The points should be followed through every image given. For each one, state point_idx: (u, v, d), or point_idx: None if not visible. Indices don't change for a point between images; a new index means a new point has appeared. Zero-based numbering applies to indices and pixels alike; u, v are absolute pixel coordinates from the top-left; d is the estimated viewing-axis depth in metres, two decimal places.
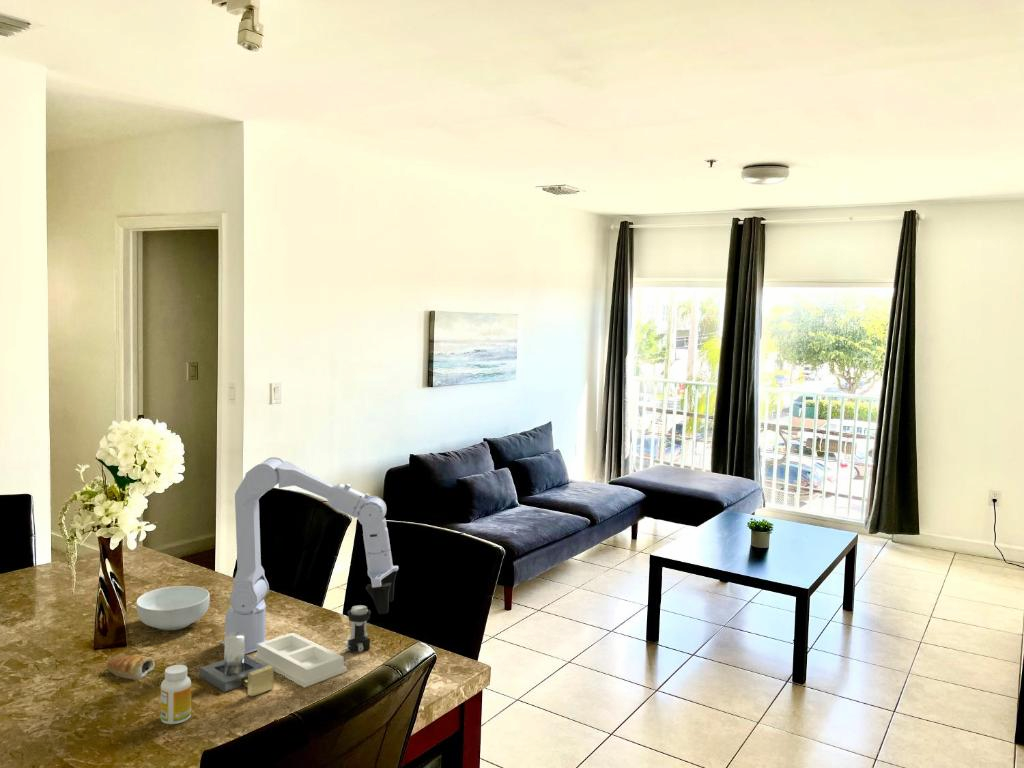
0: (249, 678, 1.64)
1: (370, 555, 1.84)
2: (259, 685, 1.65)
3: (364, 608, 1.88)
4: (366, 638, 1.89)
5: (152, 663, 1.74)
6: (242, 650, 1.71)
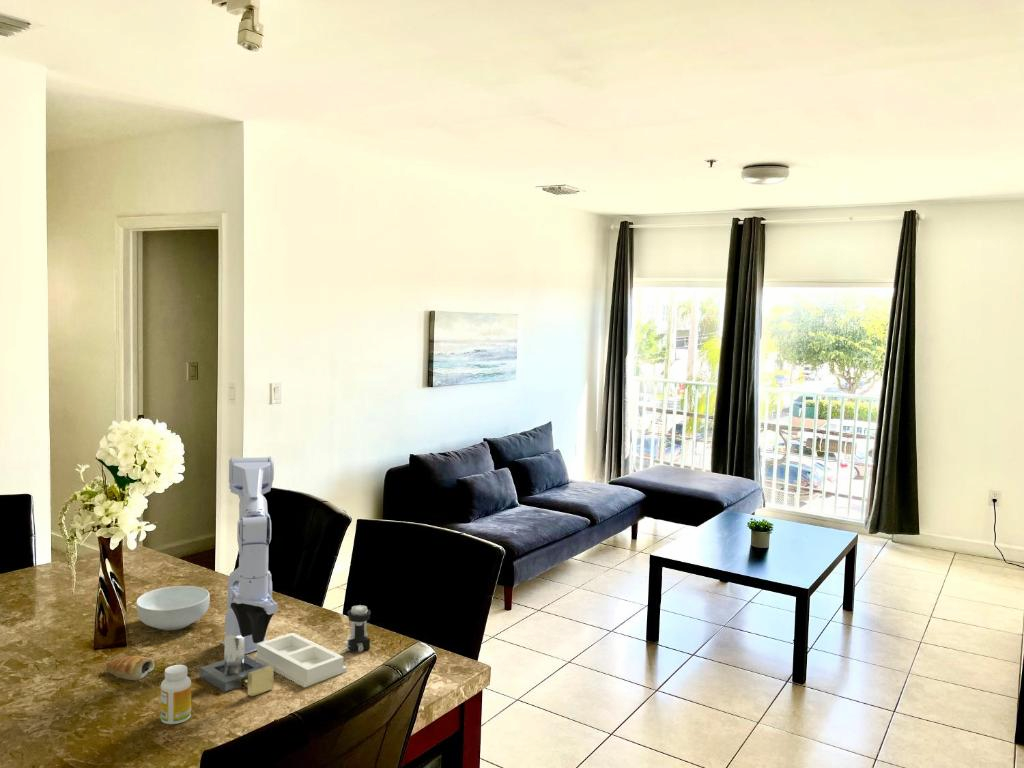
0: (249, 678, 1.64)
1: None
2: (259, 685, 1.65)
3: (364, 608, 1.88)
4: (366, 638, 1.89)
5: (152, 664, 1.73)
6: (242, 650, 1.71)
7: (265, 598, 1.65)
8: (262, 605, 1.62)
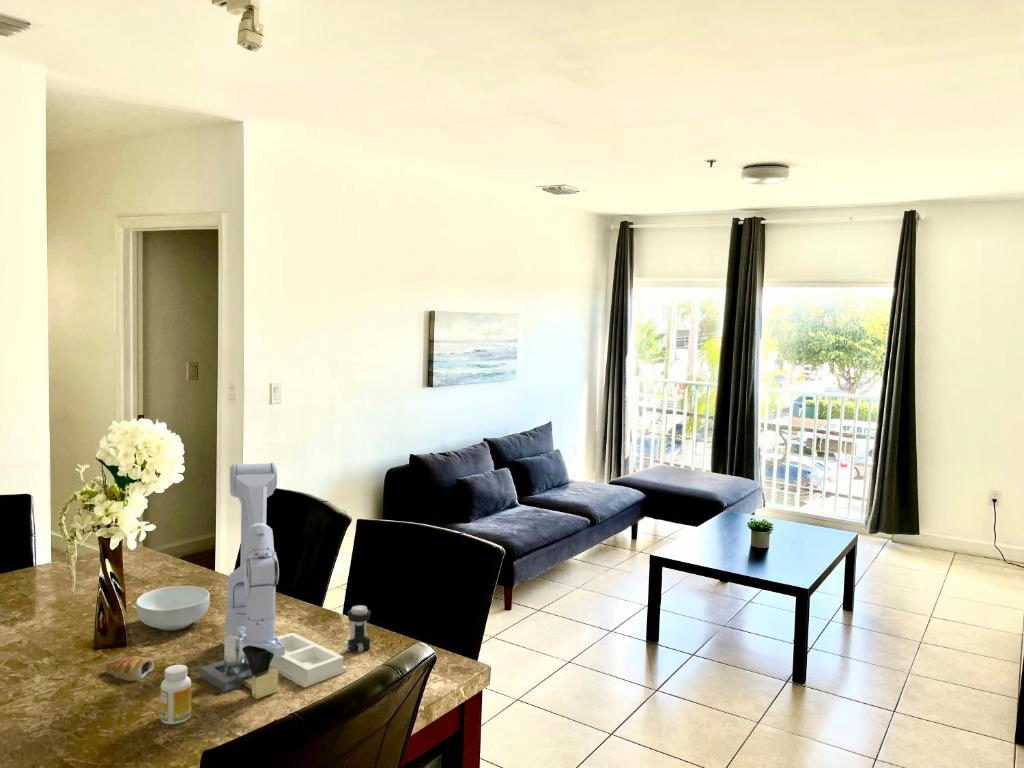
0: (253, 681, 1.63)
1: None
2: (263, 688, 1.64)
3: (364, 608, 1.88)
4: (366, 638, 1.89)
5: (151, 664, 1.73)
6: (242, 650, 1.71)
7: (272, 640, 1.64)
8: (269, 648, 1.61)
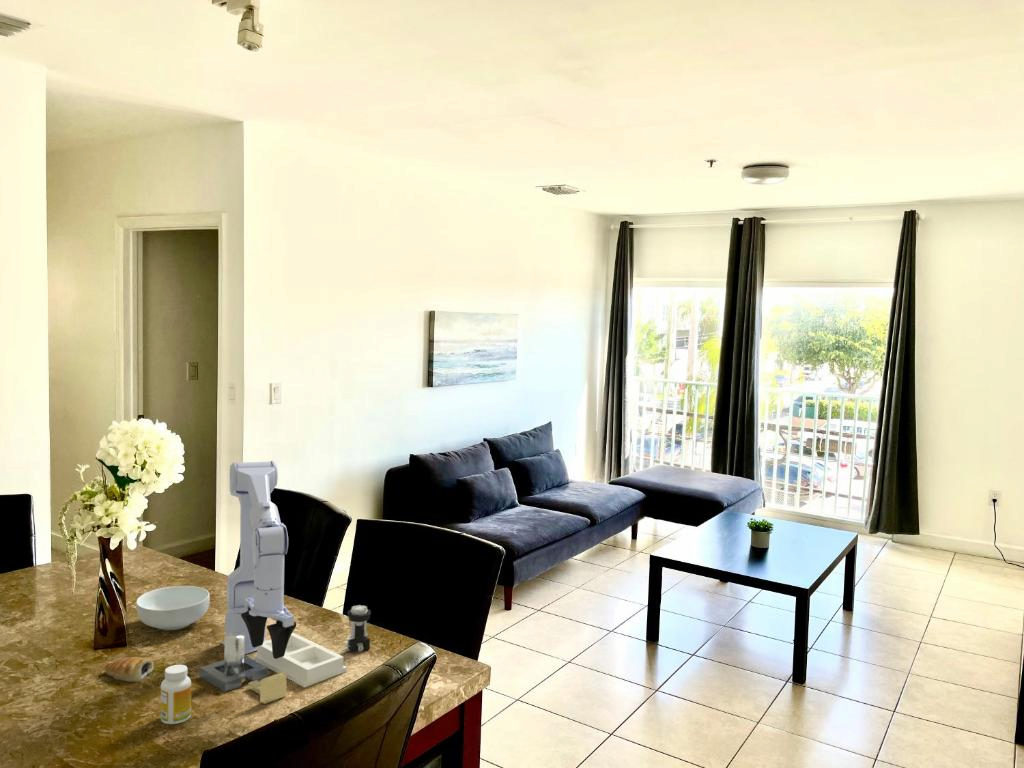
0: (262, 685, 1.61)
1: None
2: (272, 692, 1.62)
3: (364, 608, 1.88)
4: (366, 638, 1.89)
5: (151, 665, 1.73)
6: (242, 650, 1.71)
7: (281, 610, 1.62)
8: (278, 617, 1.59)
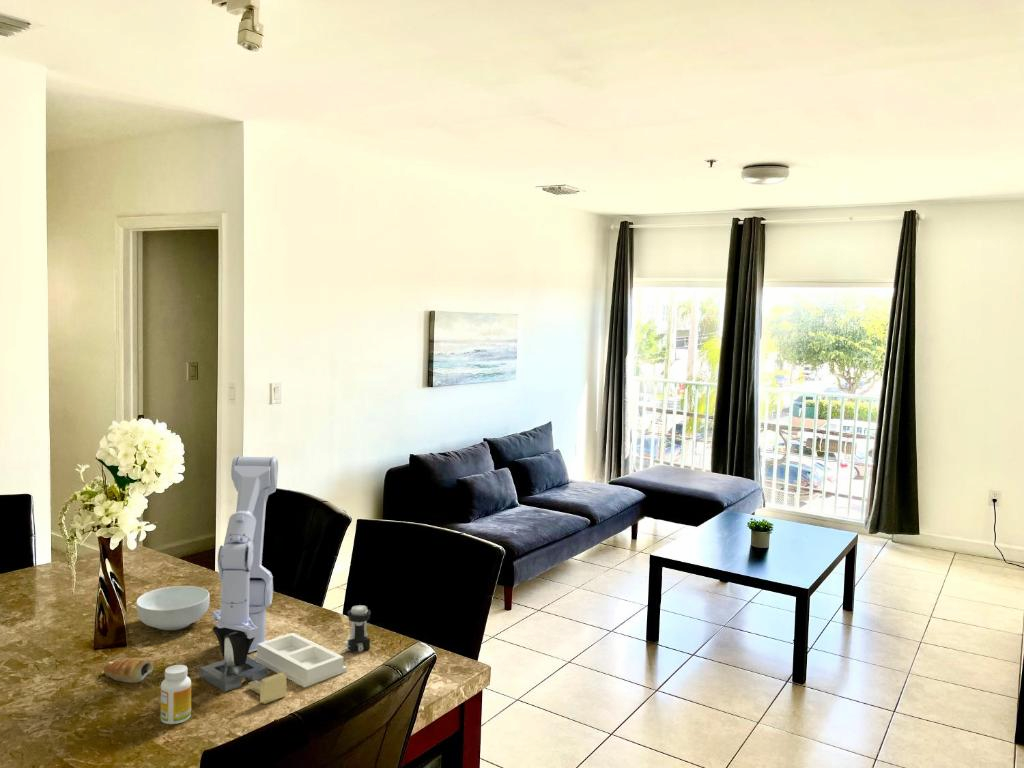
0: (262, 685, 1.61)
1: None
2: (272, 692, 1.62)
3: (364, 608, 1.88)
4: (366, 638, 1.89)
5: (150, 666, 1.72)
6: None
7: (246, 622, 1.70)
8: (243, 629, 1.67)
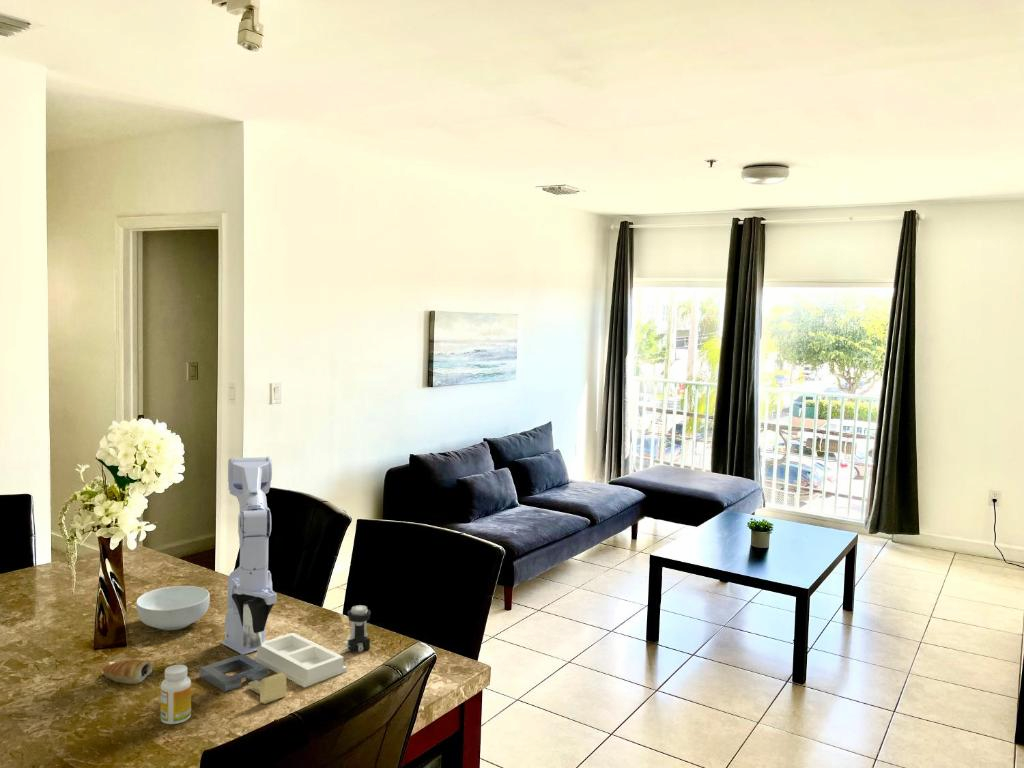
0: (262, 685, 1.61)
1: None
2: (272, 692, 1.62)
3: (364, 608, 1.88)
4: (366, 638, 1.89)
5: (150, 666, 1.72)
6: None
7: (265, 589, 1.71)
8: (262, 596, 1.67)
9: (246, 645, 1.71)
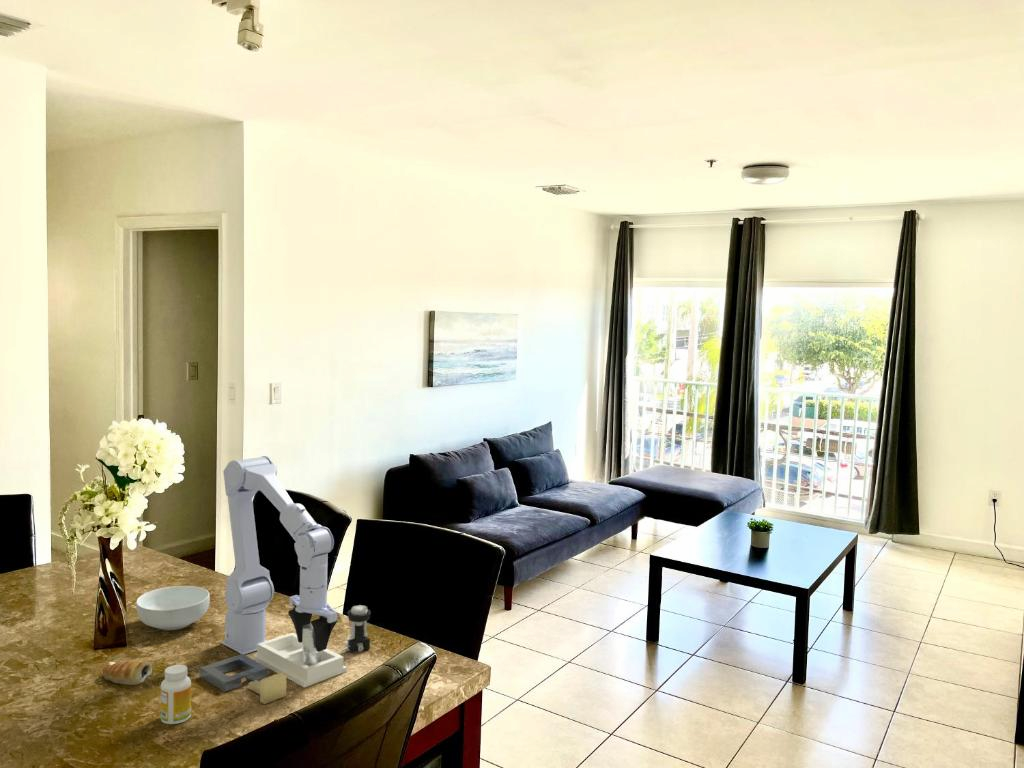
0: (262, 685, 1.61)
1: None
2: (272, 692, 1.62)
3: (364, 608, 1.88)
4: (366, 638, 1.89)
5: (150, 667, 1.72)
6: None
7: (325, 607, 1.74)
8: (323, 614, 1.71)
9: None
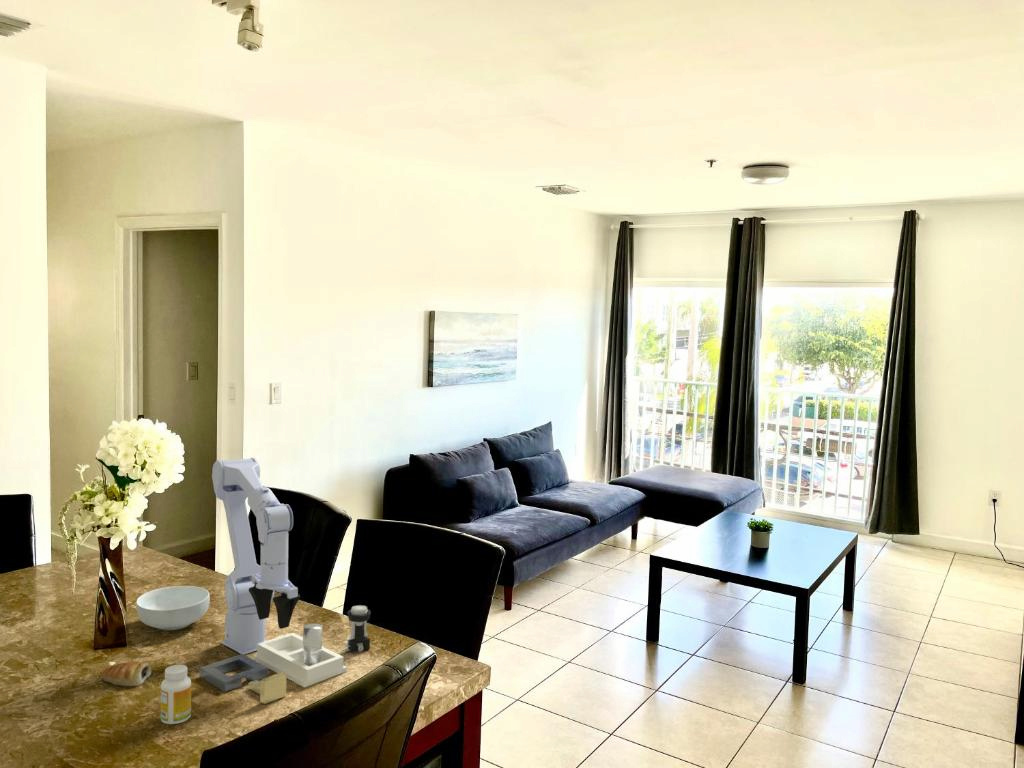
0: (262, 685, 1.61)
1: None
2: (272, 692, 1.62)
3: (364, 608, 1.88)
4: (366, 638, 1.89)
5: (149, 669, 1.71)
6: (320, 641, 1.75)
7: (285, 584, 1.74)
8: (283, 590, 1.71)
9: None
